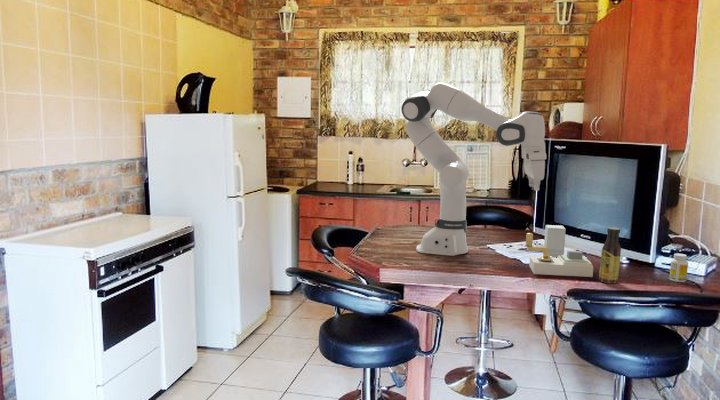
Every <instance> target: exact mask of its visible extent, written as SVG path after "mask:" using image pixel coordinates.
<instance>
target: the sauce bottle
mask: <svg viewBox="0 0 720 400" xmlns="http://www.w3.org/2000/svg"><path fill="white" fill-rule="evenodd" d="M620 233H621V228H619V227H614V226H609V227H607V234H606V235H607V236H606V240H605V242H604V243H603V247H602V248H601V255H600V263H599V273H598V276H599V278H598V280H599V281H600V282H602V283H604V284H610V285H611V284H612V285H613V284H617V283H618V279H619V272H620V265H621V251H622V246H621V245H620V242H619V241H620V239H619V238H620Z"/></svg>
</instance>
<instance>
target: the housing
mask: <svg viewBox="0 0 720 400" xmlns="http://www.w3.org/2000/svg"><path fill="white" fill-rule="evenodd" d="M540 257H541V256H531V255H530V256H529V265H528V267H529V268H530V270H531V271H532V273H533V275H546V276H548V275H549V276H550V275H551V276H566V277H584V278H585V277H586V278H587V277H588V278H593V277H594V275H593V274H594V266H593V263H592V262H591V261H590V260H589V259H588V258H587V256H583V257H584V258H585V259H587V260H588V263H580V262H565V261H564V260H563V259H562V258H561V256H559V255H558V258H556V257H550V258H551V261H549V262H546V261H541V260H540Z"/></svg>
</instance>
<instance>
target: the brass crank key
mask: <svg viewBox="0 0 720 400" xmlns="http://www.w3.org/2000/svg"><path fill="white" fill-rule="evenodd" d="M533 236H534V234H533V232H527V233H526V235H525V247H526V250H527V251H528V252H543V254H542V256H539V257H540V260H541V261H546V262H549V261H551V258H550V257H549V250H548V247H544V245H542V246H541V245H540V246H539V245H533V241H534V239H533V238H534V237H533Z"/></svg>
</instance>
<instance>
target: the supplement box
mask: <svg viewBox="0 0 720 400" xmlns="http://www.w3.org/2000/svg"><path fill="white" fill-rule="evenodd" d="M565 242H566V228H565V227H564V225H561V224H560V225H559V224H558V225H557V224H556V225H554V224H553V225H552V224H545V227H544V243H543V246H544V247H548V250H549V256H552V257H555V258H556V257H558V255H559V256H561V255H565V247H566V245H565Z"/></svg>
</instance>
